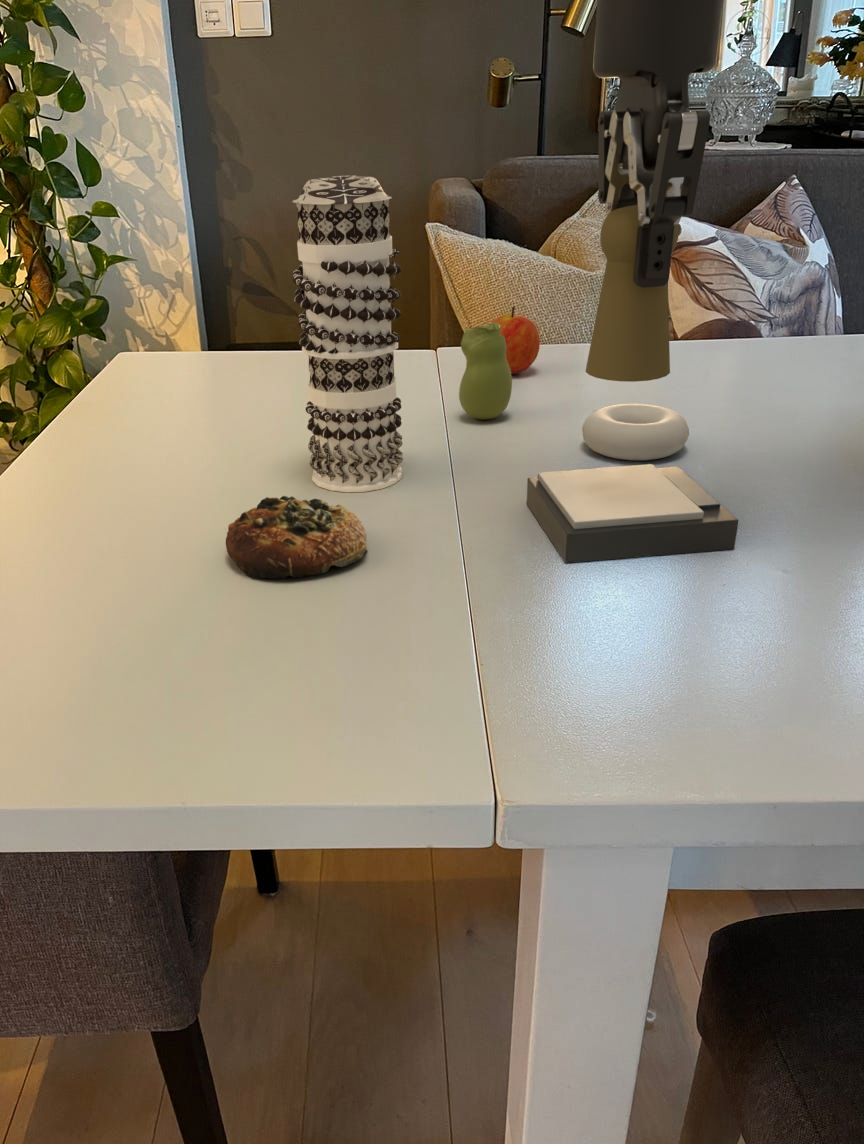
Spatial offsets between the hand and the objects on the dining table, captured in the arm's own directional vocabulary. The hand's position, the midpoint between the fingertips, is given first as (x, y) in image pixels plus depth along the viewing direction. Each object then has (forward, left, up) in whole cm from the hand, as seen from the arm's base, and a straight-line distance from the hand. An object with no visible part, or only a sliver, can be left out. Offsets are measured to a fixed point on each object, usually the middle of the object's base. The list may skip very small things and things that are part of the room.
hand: (635, 278), depth 66 cm
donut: (-8, -18, -19) cm, 28 cm away
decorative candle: (+19, -16, -19) cm, 31 cm away
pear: (+4, -31, -19) cm, 37 cm away
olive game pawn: (0, 0, -7) cm, 7 cm away
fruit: (-3, -49, -19) cm, 53 cm away
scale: (-1, 0, -19) cm, 19 cm away
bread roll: (+25, 0, -19) cm, 31 cm away
